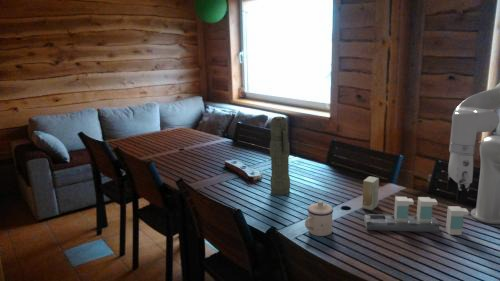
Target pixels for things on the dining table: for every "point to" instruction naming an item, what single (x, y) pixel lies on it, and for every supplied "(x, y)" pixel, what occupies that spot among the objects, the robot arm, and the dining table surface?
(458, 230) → the finger loose
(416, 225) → the rail
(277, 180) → the thermos
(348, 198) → the dining table surface
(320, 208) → the teacup with lid
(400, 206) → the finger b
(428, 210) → the cream block teal side
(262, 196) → the dining table surface
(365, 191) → the skincare box
